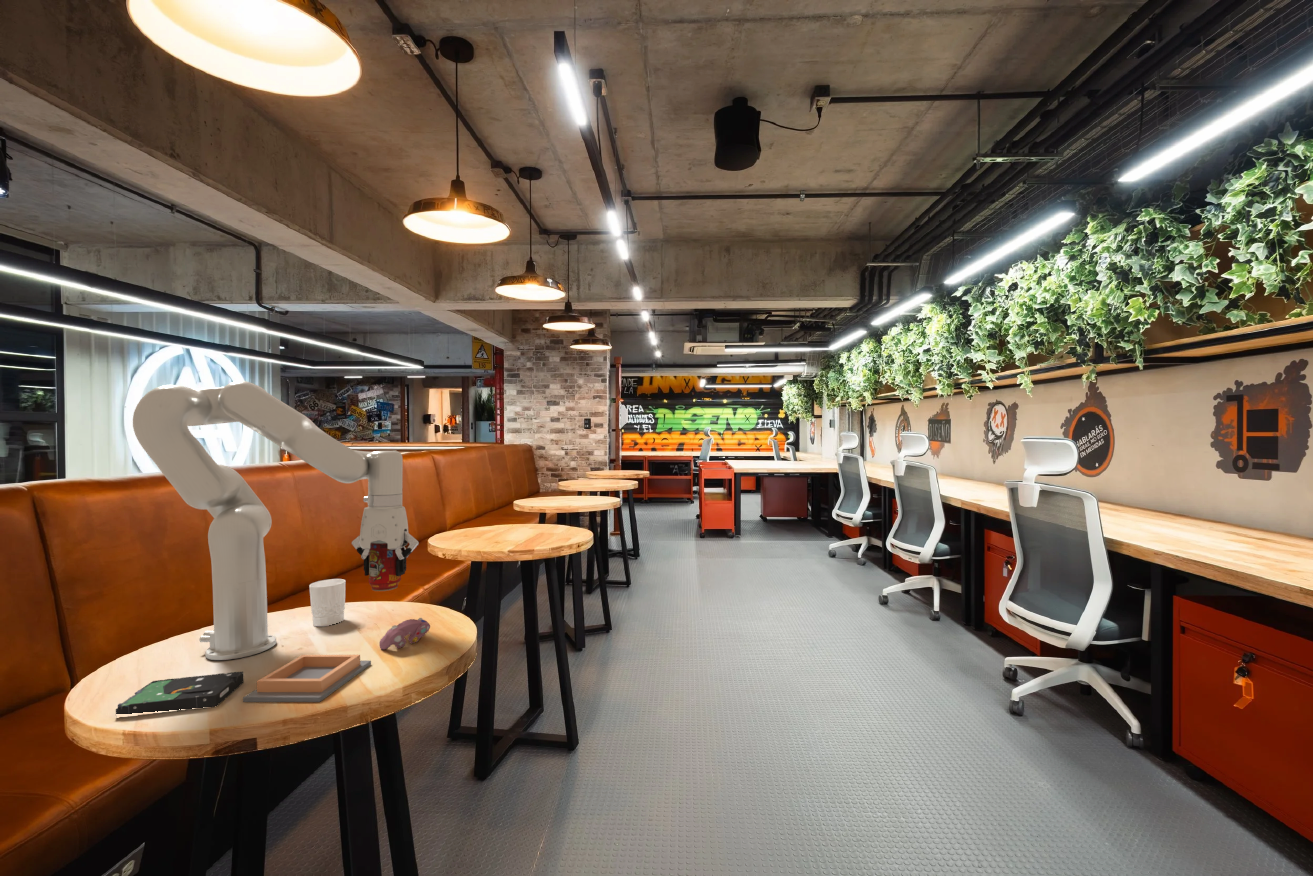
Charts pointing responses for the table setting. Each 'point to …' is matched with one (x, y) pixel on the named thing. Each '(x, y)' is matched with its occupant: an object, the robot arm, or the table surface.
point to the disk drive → (182, 693)
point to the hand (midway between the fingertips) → (385, 574)
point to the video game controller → (404, 633)
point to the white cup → (327, 601)
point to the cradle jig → (307, 678)
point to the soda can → (382, 567)
